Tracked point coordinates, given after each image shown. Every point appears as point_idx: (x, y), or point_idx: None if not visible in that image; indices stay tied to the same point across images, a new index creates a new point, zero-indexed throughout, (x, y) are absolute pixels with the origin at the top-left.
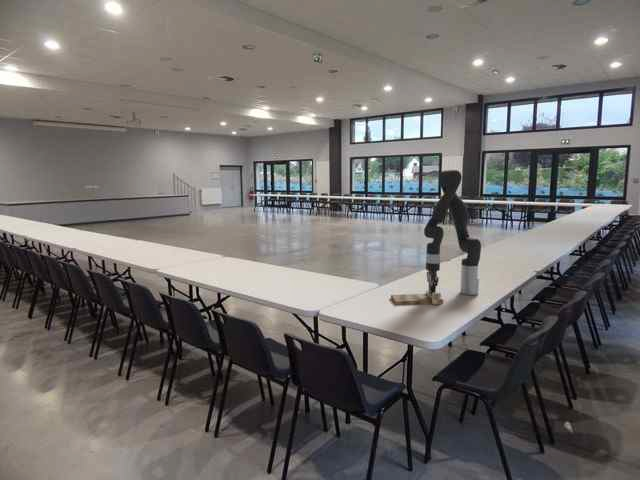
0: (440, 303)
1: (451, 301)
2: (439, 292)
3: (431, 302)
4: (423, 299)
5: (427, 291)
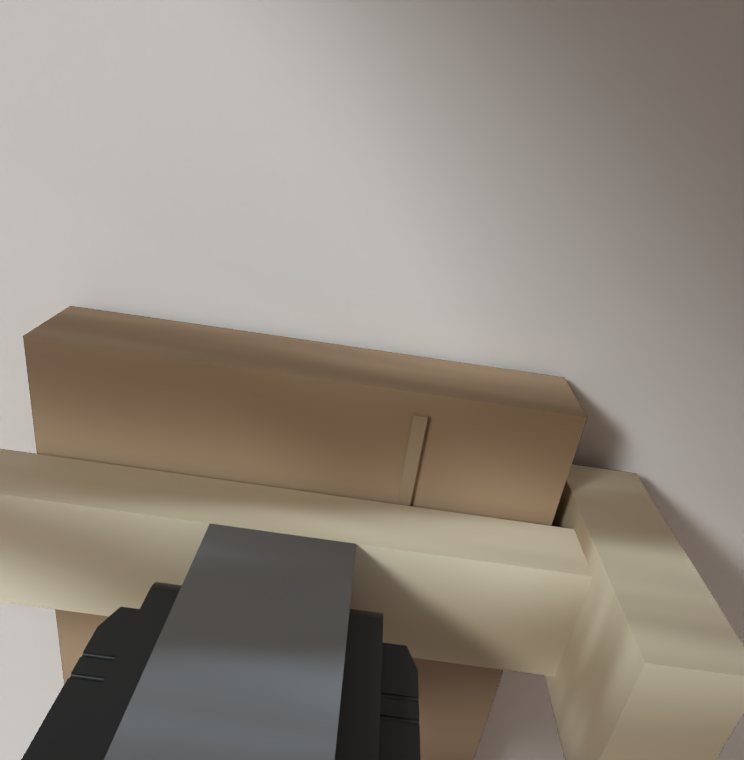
0: (640, 484)
1: (477, 79)
2: (642, 664)
3: None
4: (429, 725)
5: (69, 596)
